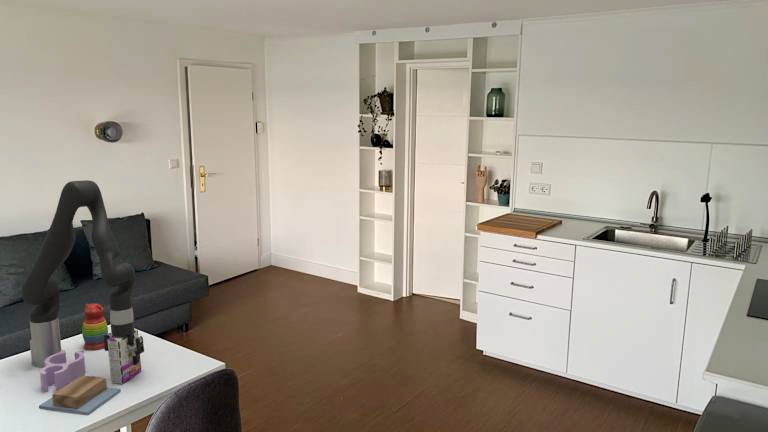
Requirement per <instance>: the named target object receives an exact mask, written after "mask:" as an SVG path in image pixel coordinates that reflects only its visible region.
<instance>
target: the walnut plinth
mask: <svg viewBox="0 0 768 432" xmlns="http://www.w3.org/2000/svg"><path fill="white" fill-rule="evenodd" d="M107 386H108V385H107V378H106V377H104V376H103V377H102V376H93V375H86V374H85V375H82V376H81V377H79V378H77V379H76V380H74V381H72V382H71V383H69V384H68V385H66V386H64V387H63V388H61V389H60V390H58V391H56V390H55V392H53V393H51V394H52V395H51V398H53V406H59V407H66V408H74V409H78V408H80V407H81V406H83V405H84V404H86V403H87V402H89V401H90V400H92V399H93V398H94V397H96V396H97V395H99V394H100V393H102V392H103V391H105V390H106V389H107Z"/></svg>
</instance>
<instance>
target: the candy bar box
mask: <svg viewBox="0 0 768 432" xmlns="http://www.w3.org/2000/svg"><path fill="white" fill-rule="evenodd" d="M134 336H135V337H139V329H137V328H134ZM107 342H108V351H107V352H108V361H109V369H110V381H111V384H114V385H115V384H116V385H124V384H125V383H127V382H129V381H130V380H131V379H133V378H134V377H135V376H137V375H138V374H139V373H141V372H142V364H141V363H142V362H141V354H140V355H139V363H138V364H137V365H133V357H132V356H133V354H132V353H131V352H130V351H128V349H127V344H126V343H128V340H127V336H113V337H111V338H110V339H108V340H107ZM134 342H135V341H134ZM135 344H136V343H135ZM130 347H133V346H132V345H131V346H130ZM134 351H135V350H134Z"/></svg>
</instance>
